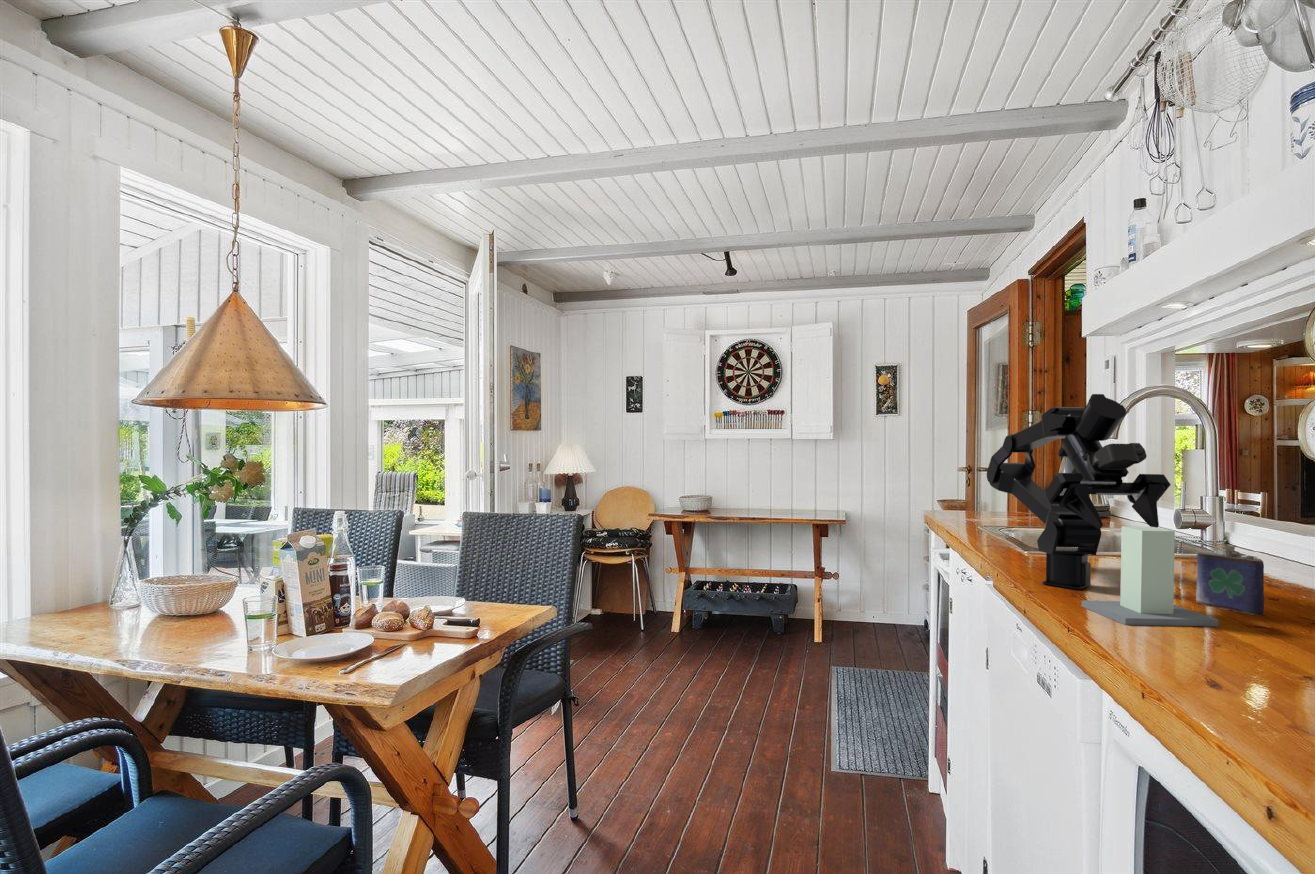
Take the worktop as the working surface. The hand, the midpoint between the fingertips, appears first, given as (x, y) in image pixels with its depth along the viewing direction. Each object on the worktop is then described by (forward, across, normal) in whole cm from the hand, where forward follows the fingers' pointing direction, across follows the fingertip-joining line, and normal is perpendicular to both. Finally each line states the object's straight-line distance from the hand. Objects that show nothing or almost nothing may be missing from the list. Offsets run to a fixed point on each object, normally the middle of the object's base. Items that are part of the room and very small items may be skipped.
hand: (1128, 527), depth 115 cm
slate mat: (+13, 0, +6) cm, 14 cm away
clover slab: (+9, +18, +10) cm, 23 cm away
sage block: (+12, 0, +6) cm, 13 cm away
